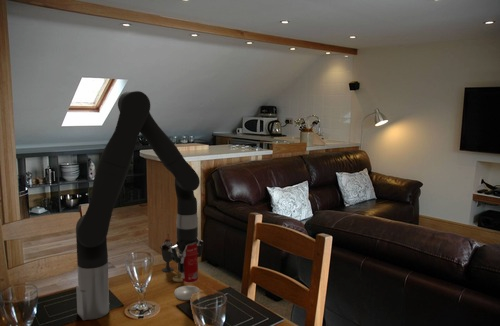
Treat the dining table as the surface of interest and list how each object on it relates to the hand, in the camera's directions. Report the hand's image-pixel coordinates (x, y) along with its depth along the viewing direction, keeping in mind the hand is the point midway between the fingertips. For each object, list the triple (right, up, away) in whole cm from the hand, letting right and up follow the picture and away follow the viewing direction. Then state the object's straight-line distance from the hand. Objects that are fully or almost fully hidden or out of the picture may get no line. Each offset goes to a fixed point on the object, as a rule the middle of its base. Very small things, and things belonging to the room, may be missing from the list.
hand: (187, 270), depth 144 cm
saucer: (0, -9, +1) cm, 9 cm away
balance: (-5, -7, +13) cm, 16 cm away
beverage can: (+1, -4, +1) cm, 5 cm away
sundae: (-12, -6, +22) cm, 26 cm away
